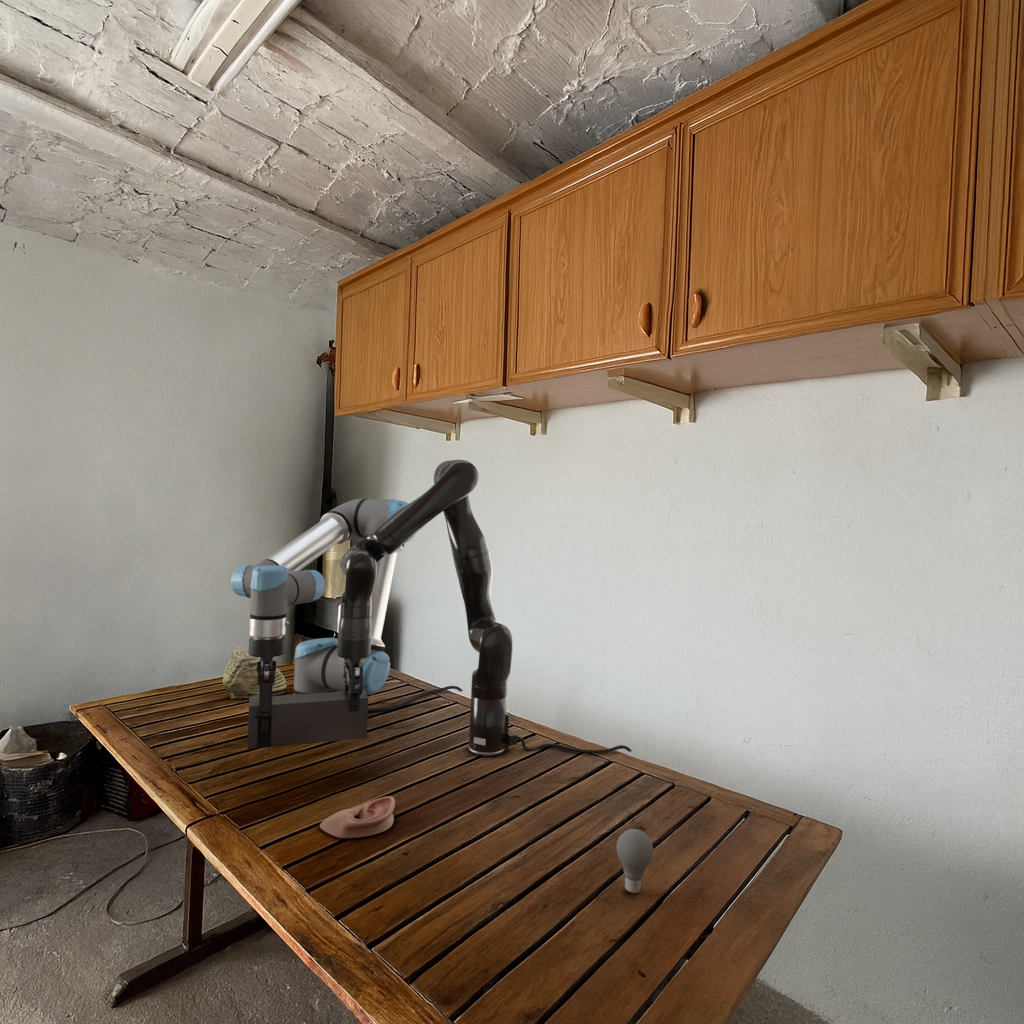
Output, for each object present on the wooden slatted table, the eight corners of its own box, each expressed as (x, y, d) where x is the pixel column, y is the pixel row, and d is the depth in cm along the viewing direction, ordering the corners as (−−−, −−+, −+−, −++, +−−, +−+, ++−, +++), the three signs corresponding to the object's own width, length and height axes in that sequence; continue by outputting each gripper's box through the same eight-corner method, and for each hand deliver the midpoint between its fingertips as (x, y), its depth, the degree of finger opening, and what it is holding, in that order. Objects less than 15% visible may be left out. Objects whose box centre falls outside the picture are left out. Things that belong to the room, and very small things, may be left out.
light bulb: (610, 879, 108) (613, 822, 108) (644, 879, 109) (647, 822, 109) (619, 902, 102) (622, 840, 102) (655, 901, 103) (658, 840, 103)
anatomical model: (312, 812, 119) (340, 786, 130) (311, 833, 119) (340, 805, 130) (378, 823, 116) (401, 795, 127) (377, 844, 116) (401, 814, 127)
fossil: (218, 695, 195) (220, 647, 195) (278, 685, 208) (279, 640, 207) (228, 703, 189) (230, 653, 188) (289, 692, 201) (290, 645, 201)
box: (247, 749, 136) (249, 706, 136) (248, 739, 141) (249, 697, 141) (366, 738, 145) (368, 697, 145) (362, 728, 150) (364, 689, 150)
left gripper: (287, 645, 132) (283, 755, 132) (284, 627, 149) (280, 724, 150) (248, 647, 129) (244, 759, 129) (250, 628, 147) (246, 726, 147)
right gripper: (376, 641, 141) (372, 714, 141) (366, 628, 154) (363, 694, 154) (341, 642, 138) (337, 716, 138) (334, 629, 151) (331, 696, 152)
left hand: (263, 740), depth 140 cm, fingers closed on box, 6 cm apart
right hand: (351, 705), depth 146 cm, fingers open, 8 cm apart
